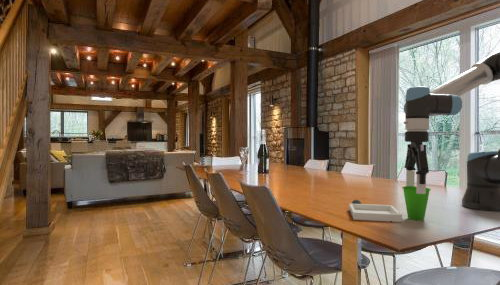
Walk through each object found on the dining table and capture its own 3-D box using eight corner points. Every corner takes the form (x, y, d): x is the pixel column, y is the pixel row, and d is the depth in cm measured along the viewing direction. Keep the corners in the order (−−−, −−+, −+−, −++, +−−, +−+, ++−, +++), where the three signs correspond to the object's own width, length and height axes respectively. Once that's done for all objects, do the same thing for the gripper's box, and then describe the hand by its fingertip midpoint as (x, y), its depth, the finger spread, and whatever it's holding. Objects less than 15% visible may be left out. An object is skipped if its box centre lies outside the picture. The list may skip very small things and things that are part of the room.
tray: (392, 211, 127) (392, 205, 127) (402, 222, 112) (402, 214, 112) (349, 209, 131) (349, 203, 131) (353, 219, 115) (353, 212, 115)
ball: (360, 207, 134) (360, 199, 134) (361, 209, 131) (361, 200, 131) (351, 207, 135) (351, 198, 135) (352, 209, 132) (352, 200, 131)
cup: (423, 216, 120) (423, 186, 120) (435, 222, 111) (435, 190, 111) (398, 215, 121) (398, 186, 121) (407, 221, 112) (407, 189, 112)
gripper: (397, 131, 129) (396, 185, 129) (415, 129, 104) (413, 195, 105) (417, 131, 127) (416, 186, 127) (441, 130, 103) (439, 197, 103)
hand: (415, 190), depth 116 cm, fingers open, 13 cm apart
